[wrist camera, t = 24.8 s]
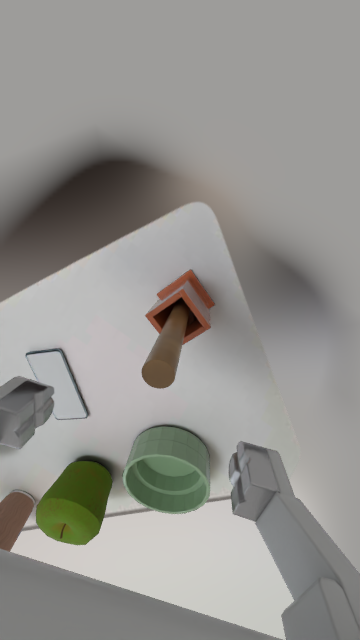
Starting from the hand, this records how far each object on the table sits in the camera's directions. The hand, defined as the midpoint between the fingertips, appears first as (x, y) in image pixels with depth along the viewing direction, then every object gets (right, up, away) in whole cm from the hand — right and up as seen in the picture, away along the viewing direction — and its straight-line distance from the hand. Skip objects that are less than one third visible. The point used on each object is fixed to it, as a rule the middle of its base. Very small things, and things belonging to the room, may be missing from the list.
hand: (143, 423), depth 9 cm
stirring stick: (+2, +7, +20) cm, 21 cm away
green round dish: (0, -22, +32) cm, 39 cm away
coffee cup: (-39, -42, +44) cm, 72 cm away
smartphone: (-21, -8, +29) cm, 36 cm away
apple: (-18, -29, +37) cm, 50 cm away
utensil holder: (+2, +7, +21) cm, 22 cm away
